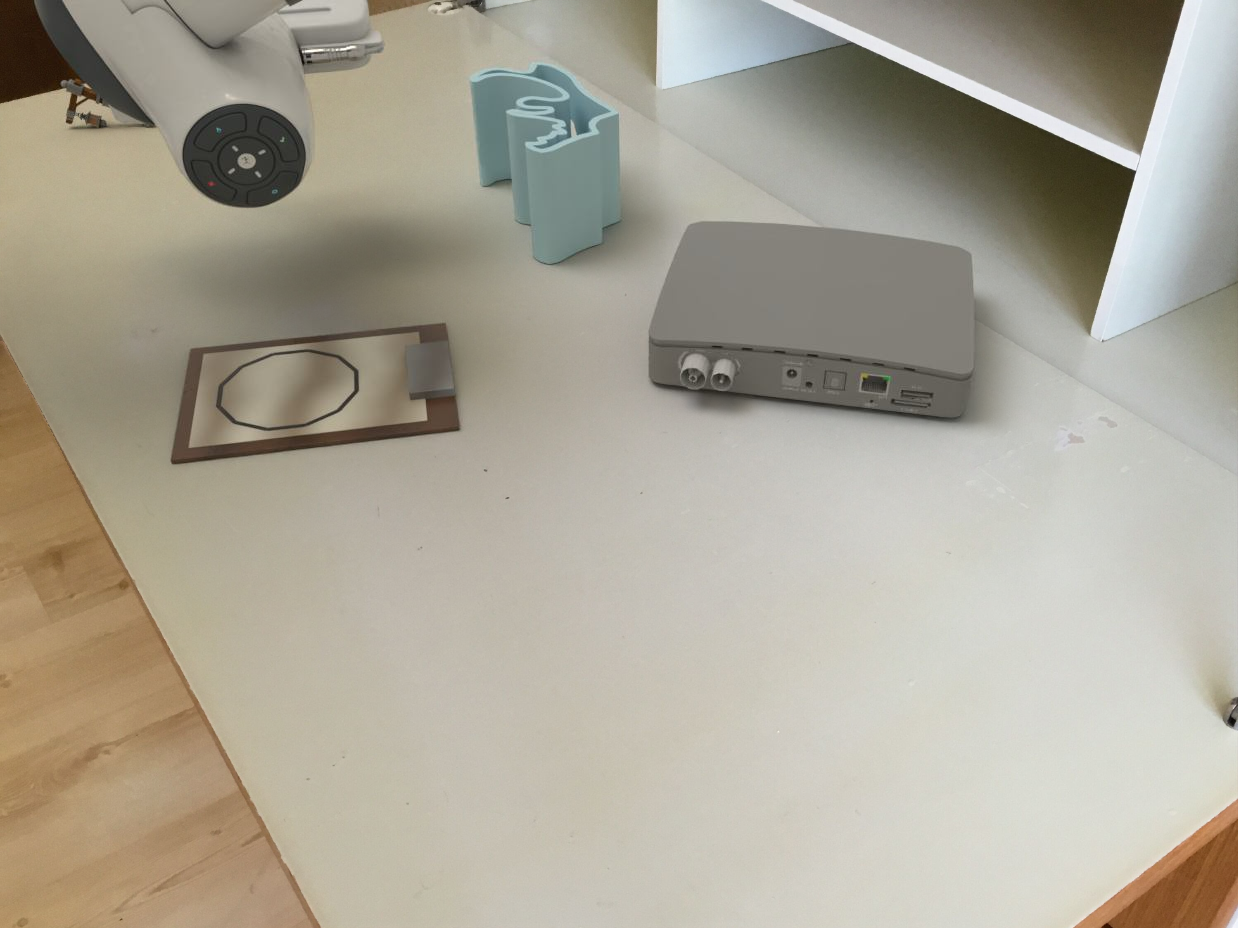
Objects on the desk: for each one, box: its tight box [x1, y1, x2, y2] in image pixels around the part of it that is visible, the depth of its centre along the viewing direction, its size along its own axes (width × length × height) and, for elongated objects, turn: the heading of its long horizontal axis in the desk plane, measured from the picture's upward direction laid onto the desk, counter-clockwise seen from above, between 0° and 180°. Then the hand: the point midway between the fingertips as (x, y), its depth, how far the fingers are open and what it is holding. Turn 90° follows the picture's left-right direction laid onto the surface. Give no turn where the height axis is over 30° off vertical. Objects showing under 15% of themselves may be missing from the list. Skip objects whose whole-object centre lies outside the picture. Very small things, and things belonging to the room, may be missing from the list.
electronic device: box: [647, 220, 975, 419], centre depth 82 cm, size 19×22×5 cm
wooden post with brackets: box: [60, 78, 150, 129], centre depth 110 cm, size 2×8×4 cm, turn 99°
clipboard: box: [170, 322, 461, 464], centre depth 78 cm, size 18×13×1 cm
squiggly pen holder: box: [469, 61, 622, 265], centre depth 96 cm, size 18×10×9 cm, turn 31°
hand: (227, 2), depth 88 cm, fingers closed on marker, 3 cm apart
